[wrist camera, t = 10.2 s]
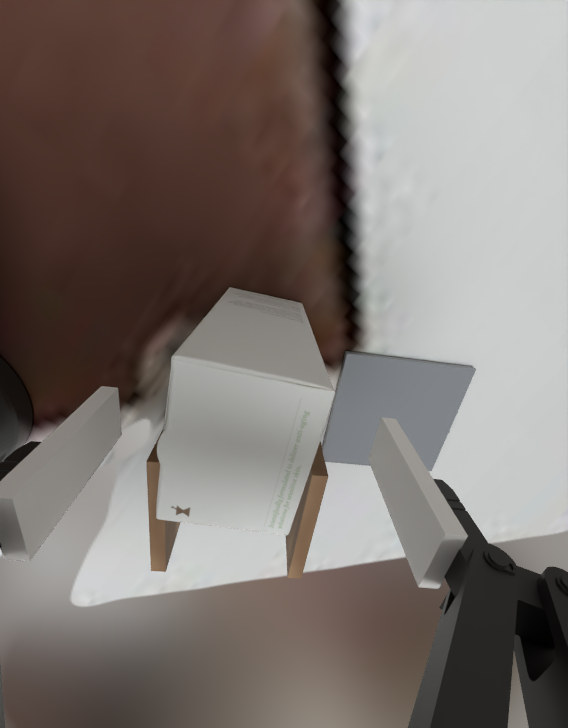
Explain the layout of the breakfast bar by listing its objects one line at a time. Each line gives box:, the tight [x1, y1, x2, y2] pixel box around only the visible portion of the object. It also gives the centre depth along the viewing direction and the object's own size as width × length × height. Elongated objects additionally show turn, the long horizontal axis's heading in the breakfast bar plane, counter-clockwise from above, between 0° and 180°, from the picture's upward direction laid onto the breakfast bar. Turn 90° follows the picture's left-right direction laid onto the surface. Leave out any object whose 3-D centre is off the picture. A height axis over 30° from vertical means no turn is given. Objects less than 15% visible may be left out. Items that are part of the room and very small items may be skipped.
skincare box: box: [156, 287, 335, 535], centre depth 20 cm, size 8×7×16 cm
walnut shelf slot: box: [147, 430, 328, 578], centre depth 29 cm, size 13×12×8 cm
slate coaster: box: [322, 351, 476, 471], centre depth 30 cm, size 12×12×1 cm
